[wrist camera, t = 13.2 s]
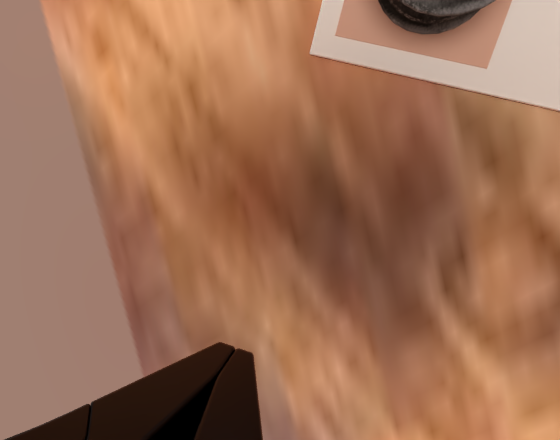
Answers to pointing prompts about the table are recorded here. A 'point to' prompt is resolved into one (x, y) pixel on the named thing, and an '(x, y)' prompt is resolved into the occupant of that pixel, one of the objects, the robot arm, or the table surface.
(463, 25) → the sheet
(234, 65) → the table surface
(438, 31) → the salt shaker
